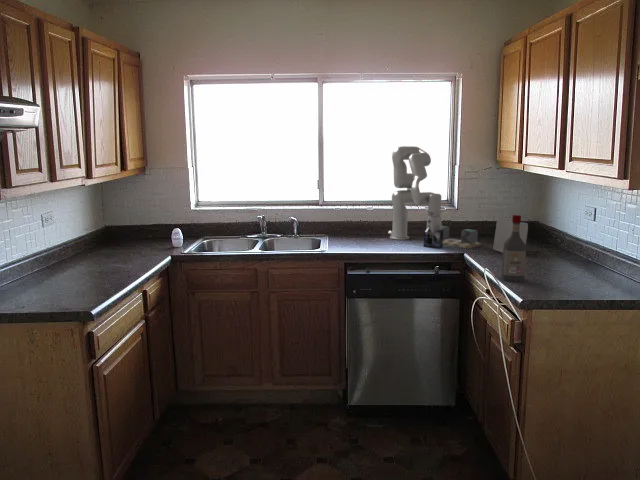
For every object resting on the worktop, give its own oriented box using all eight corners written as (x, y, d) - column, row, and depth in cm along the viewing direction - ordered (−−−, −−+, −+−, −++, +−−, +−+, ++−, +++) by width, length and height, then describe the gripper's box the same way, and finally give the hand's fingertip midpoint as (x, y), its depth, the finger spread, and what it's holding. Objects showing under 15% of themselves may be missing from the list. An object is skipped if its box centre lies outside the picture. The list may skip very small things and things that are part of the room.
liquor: (524, 282, 249) (529, 217, 244) (503, 281, 251) (508, 216, 245) (520, 277, 258) (525, 214, 253) (500, 276, 260) (504, 214, 254)
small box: (422, 246, 332) (423, 229, 330) (426, 245, 338) (427, 228, 336) (439, 248, 327) (440, 231, 325) (443, 246, 332) (443, 229, 330)
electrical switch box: (528, 255, 318) (533, 221, 317) (516, 255, 308) (521, 220, 307) (505, 251, 329) (509, 218, 327) (492, 251, 319) (497, 217, 317)
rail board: (429, 242, 347) (429, 226, 345) (441, 239, 357) (442, 224, 355) (468, 248, 327) (469, 232, 326) (480, 245, 337) (481, 229, 335)
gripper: (431, 216, 320) (430, 245, 323) (447, 213, 332) (446, 242, 335) (420, 214, 325) (419, 244, 328) (437, 212, 337) (435, 240, 340)
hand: (433, 242), depth 332 cm, fingers closed on small box, 7 cm apart
